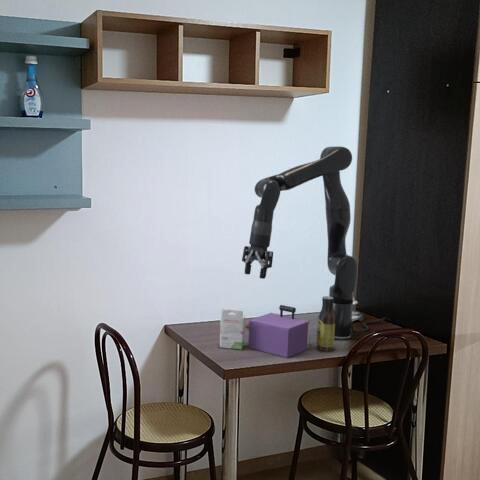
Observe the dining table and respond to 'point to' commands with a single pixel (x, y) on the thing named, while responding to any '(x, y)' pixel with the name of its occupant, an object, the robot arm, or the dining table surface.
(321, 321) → the sauce bottle
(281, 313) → the file box lid
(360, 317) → the toy car
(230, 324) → the ink box
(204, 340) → the dining table surface
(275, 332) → the box
